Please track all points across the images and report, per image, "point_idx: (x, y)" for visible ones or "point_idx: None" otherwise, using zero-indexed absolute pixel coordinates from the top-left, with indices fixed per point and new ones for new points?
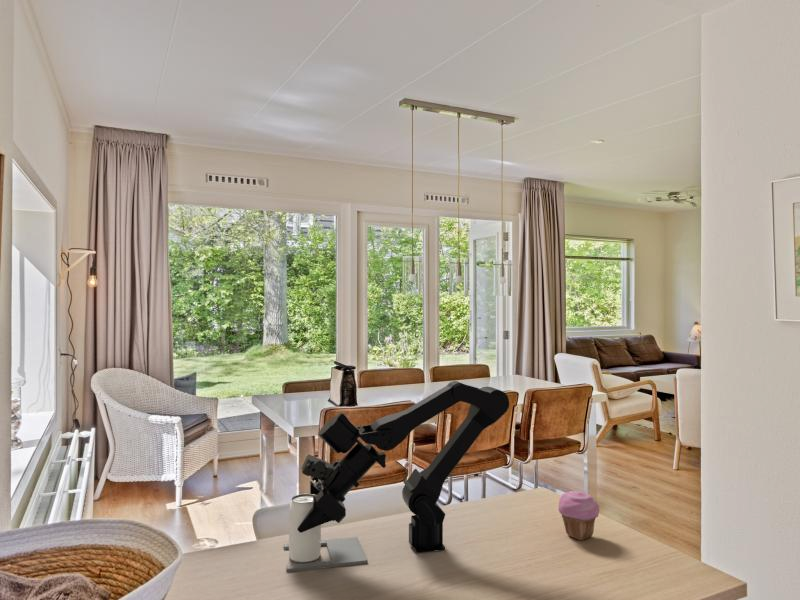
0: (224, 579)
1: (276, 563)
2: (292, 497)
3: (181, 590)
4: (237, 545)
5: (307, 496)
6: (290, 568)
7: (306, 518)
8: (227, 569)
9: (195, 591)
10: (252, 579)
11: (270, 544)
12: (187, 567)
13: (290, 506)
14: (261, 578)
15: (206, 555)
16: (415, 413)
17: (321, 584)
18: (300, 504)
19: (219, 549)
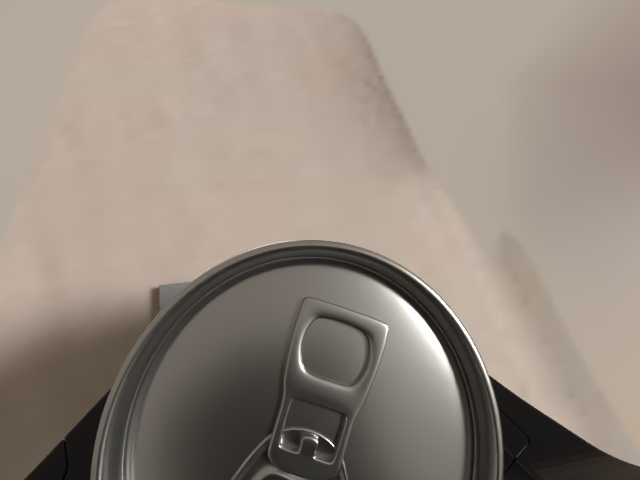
0: (158, 98)
1: (245, 245)
2: (358, 248)
3: (116, 4)
4: (398, 118)
5: (445, 448)
6: (160, 299)
7: (78, 426)
8: (228, 102)
9: (98, 34)
10: (135, 176)
11: (403, 215)
12: (261, 8)
13: (259, 247)
14: (135, 203)
15: (334, 45)
16: None
17: (8, 440)
18: (138, 371)
19: (372, 74)
